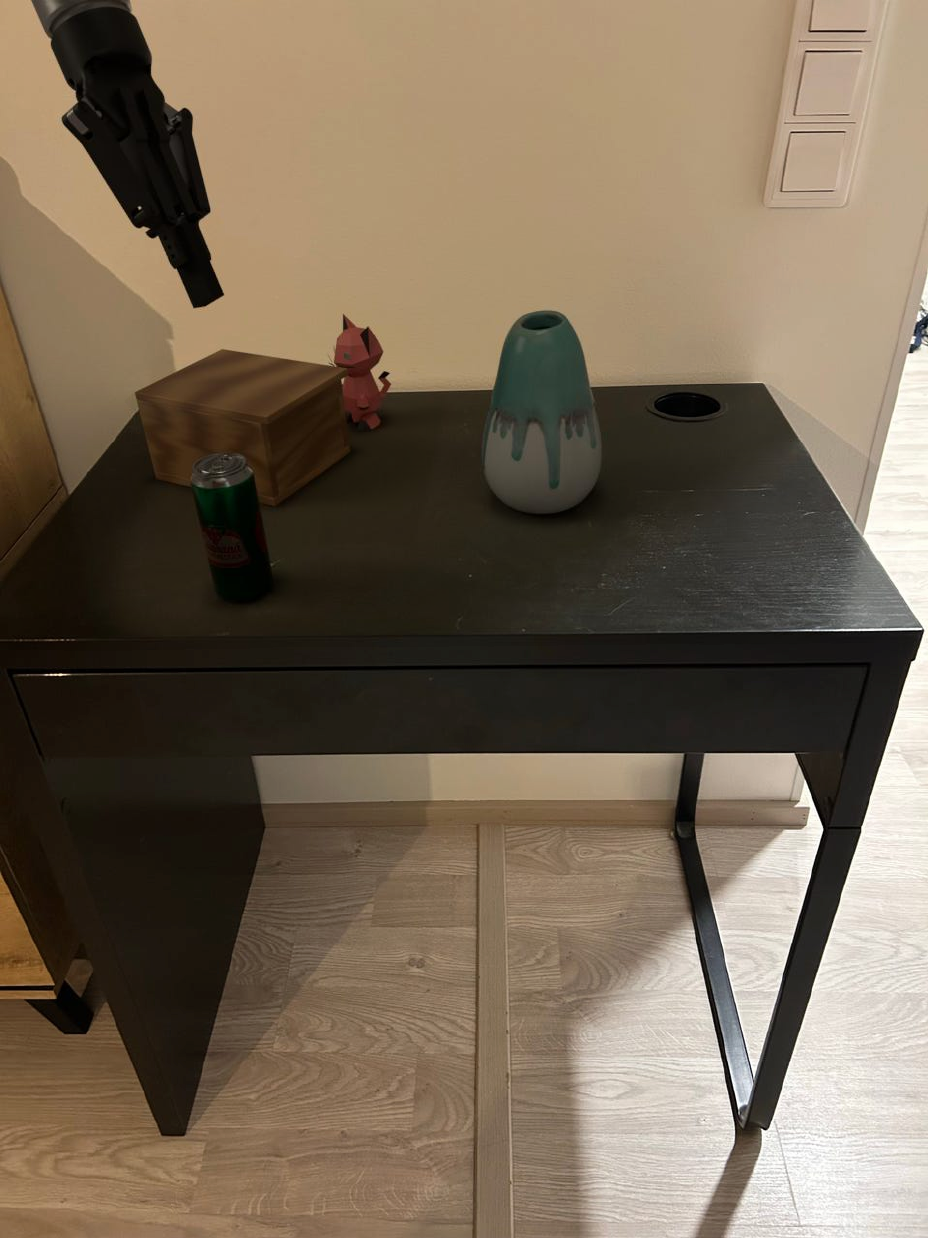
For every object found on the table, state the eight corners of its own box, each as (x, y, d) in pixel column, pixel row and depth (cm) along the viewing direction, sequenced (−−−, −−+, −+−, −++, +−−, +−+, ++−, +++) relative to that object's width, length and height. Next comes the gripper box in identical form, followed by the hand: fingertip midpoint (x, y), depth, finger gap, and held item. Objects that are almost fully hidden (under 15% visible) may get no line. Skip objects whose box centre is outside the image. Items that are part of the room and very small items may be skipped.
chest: (350, 452, 106) (341, 374, 101) (275, 506, 96) (260, 423, 91) (237, 430, 112) (223, 356, 107) (156, 479, 102) (136, 400, 97)
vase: (512, 537, 88) (509, 347, 78) (465, 486, 97) (457, 310, 87) (622, 511, 92) (633, 325, 82) (567, 464, 101) (571, 291, 91)
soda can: (204, 599, 82) (174, 472, 75) (236, 569, 86) (211, 446, 79) (254, 609, 80) (228, 481, 74) (285, 579, 84) (263, 454, 77)
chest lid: (348, 375, 100) (347, 367, 100) (268, 424, 90) (266, 416, 90) (223, 355, 107) (222, 348, 106) (136, 399, 97) (134, 392, 96)
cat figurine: (326, 419, 113) (313, 318, 107) (377, 405, 116) (367, 305, 110) (354, 438, 109) (342, 334, 102) (406, 423, 111) (397, 320, 105)
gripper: (125, 57, 87) (232, 308, 92) (1, 43, 77) (127, 326, 82) (176, 11, 83) (284, 278, 88) (50, -10, 73) (181, 293, 77)
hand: (208, 301), depth 85 cm, fingers closed
